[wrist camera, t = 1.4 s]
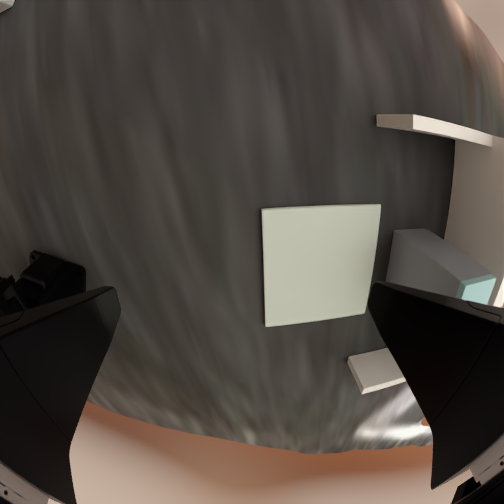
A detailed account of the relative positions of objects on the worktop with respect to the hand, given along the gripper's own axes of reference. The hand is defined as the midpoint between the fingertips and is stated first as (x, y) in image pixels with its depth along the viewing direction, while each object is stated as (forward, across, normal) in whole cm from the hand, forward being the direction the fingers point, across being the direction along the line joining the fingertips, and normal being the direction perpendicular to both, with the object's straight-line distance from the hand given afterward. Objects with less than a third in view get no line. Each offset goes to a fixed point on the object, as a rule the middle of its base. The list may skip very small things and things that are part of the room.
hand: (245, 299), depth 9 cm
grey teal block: (+13, +16, -5) cm, 21 cm away
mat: (+13, +7, -6) cm, 16 cm away
